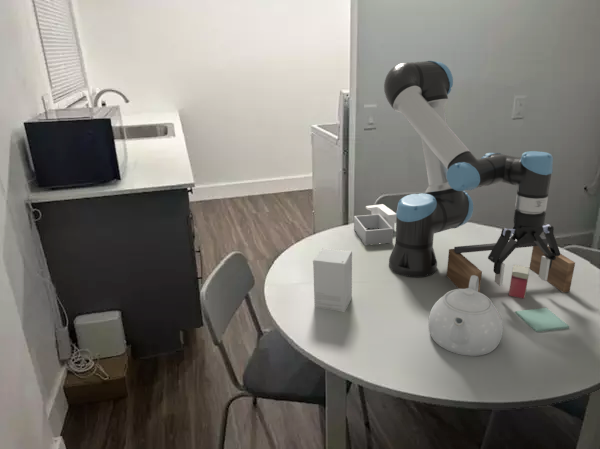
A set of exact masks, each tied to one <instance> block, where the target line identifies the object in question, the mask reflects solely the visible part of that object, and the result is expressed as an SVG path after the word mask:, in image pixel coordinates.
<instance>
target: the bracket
mask: <svg viewBox="0 0 600 449" xmlns="http://www.w3.org/2000/svg"><path fill="white" fill-rule="evenodd" d="M365 209H366V210H367V211H370V212H371V214H370V215H374V214H380V215H381V216H382V217H383V218H384V220H385V221H386V222H387V223H388V224H389V225H390V226H391V227H392V228H393V230H394V231H395V224H396V217H397V216H396V212H395V211H393V209H391V208H390V207H388V206H386V205H385V204H383V203H381V204H380V203H379V204H373V205H366V206H365Z"/></svg>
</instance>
